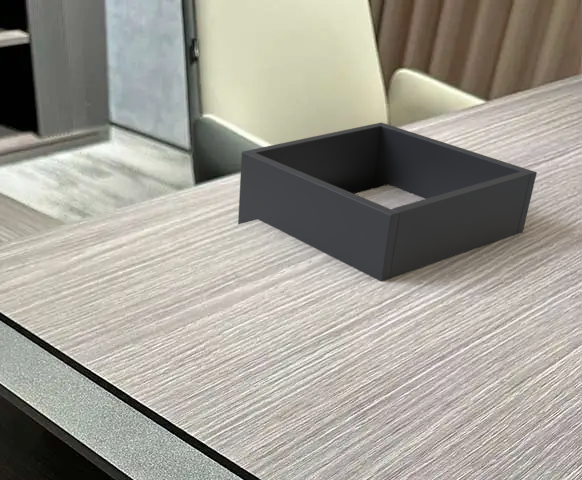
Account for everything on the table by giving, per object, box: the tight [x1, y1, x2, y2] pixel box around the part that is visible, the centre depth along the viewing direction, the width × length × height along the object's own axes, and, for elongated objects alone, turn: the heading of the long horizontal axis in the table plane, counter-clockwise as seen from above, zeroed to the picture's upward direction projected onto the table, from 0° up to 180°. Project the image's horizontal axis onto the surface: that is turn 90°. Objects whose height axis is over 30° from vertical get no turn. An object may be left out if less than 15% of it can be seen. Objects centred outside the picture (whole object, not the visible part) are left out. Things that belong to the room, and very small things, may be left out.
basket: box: [237, 122, 538, 283], centre depth 64 cm, size 16×16×6 cm
